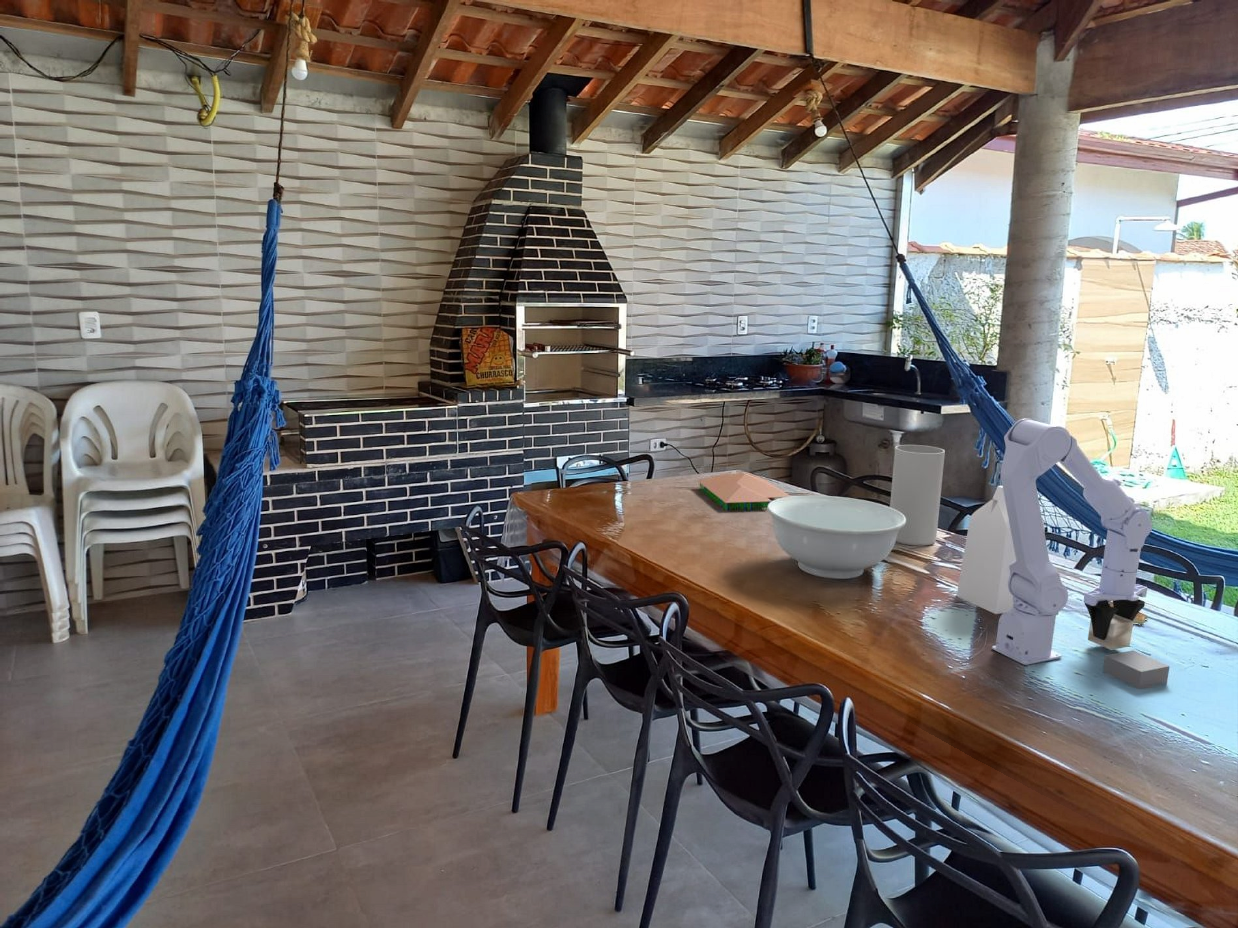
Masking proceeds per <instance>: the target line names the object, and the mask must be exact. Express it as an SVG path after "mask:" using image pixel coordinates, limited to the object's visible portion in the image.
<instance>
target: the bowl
mask: <svg viewBox="0 0 1238 928" xmlns="http://www.w3.org/2000/svg"><path fill="white" fill-rule="evenodd" d="M767 505H768V506H766V510H767V512H768V514H769V515H771V517H772V524H773V533H774V536H775V539H776V541H777V544H778V545H779V546H780V548H781V549H782V550H783V552H785V553H786V554H787V555H789V556H790V557H791V558H792V559H794V560H796V561H798V562H797V565H798V567H799V569H800V570H801V571H803V572H805V573H807V574H810V575H812V576H815V577H821V578H825V579H834V580H835V579H838V580H839V579H840V580H841V579H843V580H845V579H848V580H849V579H853V578H857V577H860V576H861V575H863V573H864V571H865V569H867V568H870V567H872V566H875V565H877V564H879V563H881V562H882V561H883V560H884V559H885V558H886V557H888V556H889V554H890V553H891V552H892V550H893V548H894V546H895V544H896V542H895V541H896V538H897V535H898V532H899V530H900V529H901V528H902V527H904V525H905V524H906V518H905V516H904V515H903V514H902V513H901V512H899V511H897V510H895V509H893V508H891V507H890V506H888V505H885V504H881V503H878V502H873V501H869V500H865V499H858V498H851V497H843V496H834V495H833V496H831V495H793V496H791V497H783V498H777V499H776V498H775V499H773V500H772V502H769V504H768V503H767Z"/></svg>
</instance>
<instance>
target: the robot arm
mask: <svg viewBox="0 0 1238 928" xmlns="http://www.w3.org/2000/svg"><path fill="white" fill-rule="evenodd" d="M1003 439H1004V444H1005V450H1004V454H1003V459H1002V464H1001V467H1000V480H1001V486H1003V491H1004V497H1005V502H1006V508H1007V513H1008V518H1009V524H1010V529H1011V535H1012V540H1013V545H1014V551H1015V556H1016V561H1014V562H1013V563H1012V564H1011V565H1009V569H1010V576H1009V580H1008V589H1009V591H1010V593H1011V594H1012V595H1013V602H1014V605H1013V607H1012V609H1011V610H1010V611H1008V612H1005V613H1001V615H1000V616H999V620H998V623H997V624H998V625H997V633H996V634H997V635H996V640H995V645H992V646H991V649H992V650H994V651H995V652H997V653H1000V654H1002V655H1004V656H1006V657H1007V658H1009V659H1012V660H1013V661H1016V662H1018V663H1020V664H1022V665H1025V666H1027V665H1031V664H1037V663H1042V662H1046V661H1053V660H1056V659H1061V658H1062V657H1063V655H1062V654H1061V653H1058V652H1056V651H1054V650H1053V641H1054V634H1055V632H1054V631H1055V627H1056V626H1055V625H1056V618H1057V617H1056V616H1058V615H1059V612H1061V611H1062V610H1064V608H1065V606H1066V605H1067V603H1068V600H1069V593H1068V589H1067V587H1066V586H1065V585H1064V584H1063V582H1062V580H1061V576H1060V575H1061V574H1060V572H1059V571H1058V570H1057V568H1056V567H1055V566H1054V565H1053V563H1052V562H1051V560H1050V556H1049V551H1048V546H1047V540H1046V539H1047V538H1046V535H1045V533H1046V532H1045V531H1044V527H1043V522H1044V521H1042V520H1043V518H1042V511H1041V505H1040V500H1039V493H1038V489H1037V483H1036V481H1037V479H1038V478H1039V477H1040V476H1042V475H1044V473H1046V472H1047V471H1048V470H1050V469H1051V468H1053V466H1055V465H1056V464H1058V463H1059V464H1061V466H1063V467H1064V468H1065V469H1066V470H1067V472H1069V473H1070V474H1071V476H1073V478H1075V479H1076V480H1077V481H1078V483H1079V484H1081V486H1083V488H1084V489H1083V490H1082V491H1083V494H1082V495H1083V497H1084V499H1085V500H1086V501H1087V503H1088V504H1089V505H1090V506H1091V507H1092V508H1093V509H1094V510H1095V512H1097V514H1098V515H1099V516H1100V517H1101V518H1100V523H1101V526H1102V527H1103V528H1105V529H1107V532H1106V538H1105V545H1104V553H1103V560H1102V565H1101V566H1102V567H1101V572H1100V573H1101V574H1100V580H1099V585H1098V586H1097V587H1095V588H1094V589H1092V590H1090V591H1087V592H1084V594H1083V601H1082V602H1083V603H1084V605H1085V608H1086V609H1087V612H1088V614H1089V617H1090V621H1091V622H1092V629H1093V636H1094V637H1096V638H1099V639H1101V640H1105V639H1106V637H1107V634H1108V630H1109V626H1110V623H1111V620H1112V618H1113V616H1114V614H1116V615H1118V616H1121V617H1123V618H1126V619H1129V620H1131V621H1133V620H1134V618H1135V617H1136V615H1137V614H1138V613H1139V612H1140V611H1141V610H1142V609H1143V608H1144V607H1145V604H1146V602H1145V601H1144V600H1142V599H1140V598H1146V597H1147V593H1148V587H1147V586H1146V585H1145V586H1144V585H1141V584H1138V583H1137V584H1136V581H1137V575H1138V568H1139V562H1140V555H1141V551H1142V550H1141V549H1142V548H1143V547H1144V546H1145V541H1146V539H1147V537H1148V536H1149V535H1150V534H1151V531H1152V530H1153V528H1154V524H1153V523H1152V521H1151V518H1150V515H1149V513H1148V512H1147V511H1146V510H1144V509H1142V508H1139V507H1136V504H1135V502H1136V501H1135V499H1134V498H1133V497H1131V496H1129V495H1127V494H1126V493H1125V491H1124V490H1123V489H1122V488H1121V485H1122V483H1121V481H1119V479H1116V478H1112V477H1111V476H1107V475H1104V476H1102V475H1101V474H1100V472H1099V471H1098V470H1097V469H1096V467H1095V466H1094V464H1093V463H1092V462H1091V461H1090V459H1089V458H1088V456H1086V455H1085V452H1084V451H1083V450H1082V449H1081V447H1080V446H1079V445H1078V442H1077V439H1076V437H1074V436H1073V435H1072V434H1070V432H1069V431H1068V430H1067V429H1066V428H1064V427H1063V426H1061V425H1053V424H1048V423H1046V422H1040V421H1036V420H1034V419H1032V418H1027V417H1026V418H1021V419H1019V420H1017V421H1015V422H1014V423H1013V424H1012V426H1011V427H1010V428H1009V429H1008V430H1007V433H1005V435H1004V436H1003ZM1139 597H1140V598H1139ZM1109 601H1111V602H1113V606H1114V607H1111V606H1110V604H1108V603H1109Z"/></svg>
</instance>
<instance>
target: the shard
mask: <svg viewBox="0 0 1238 928" xmlns="http://www.w3.org/2000/svg"><path fill="white" fill-rule="evenodd" d="M1108 604H1110V606H1111V607H1114V606H1113V601H1109V603H1108ZM1148 618H1149V616H1148V615H1146V614H1144V613H1142V612H1140V611H1139V613H1138V614H1137V615H1136V617H1135V618H1134V620H1133V621H1134V622H1133V623H1138V624H1140V625H1142V624H1144V622H1145V621H1146V620H1145V619H1147V620H1148Z"/></svg>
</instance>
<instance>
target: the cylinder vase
mask: <svg viewBox="0 0 1238 928" xmlns="http://www.w3.org/2000/svg"><path fill="white" fill-rule="evenodd" d="M945 456H946V453H945V449H943V448H940V447H937V446H936V447H935V446H932V445H931V446H930V445H921V444H899V445H896V446H895V447H894V457H893V458H894V459H893V467H892V468H893V469H892V481H891V491H890V503H889V507H891V508H893V509H895V510H897V511H899V512H901V513H902V514H903V515H904V516H905V518H906V524H905V525H904V527H902V528H901V529H900V530H899V532H898V535H897V538H896V541H895V543H899V544H901V545H906V546H907V545H909V546H916V547H917V546H919V547H921V546H924V547H925V546H930V545H933V544H934V543H935V542H936V541H937V535H938V534H937V533H938V527H939V525H938V523H939V514H940V504H941V496H942V495H941V493H942V484H943V475H944V464H945Z"/></svg>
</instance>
